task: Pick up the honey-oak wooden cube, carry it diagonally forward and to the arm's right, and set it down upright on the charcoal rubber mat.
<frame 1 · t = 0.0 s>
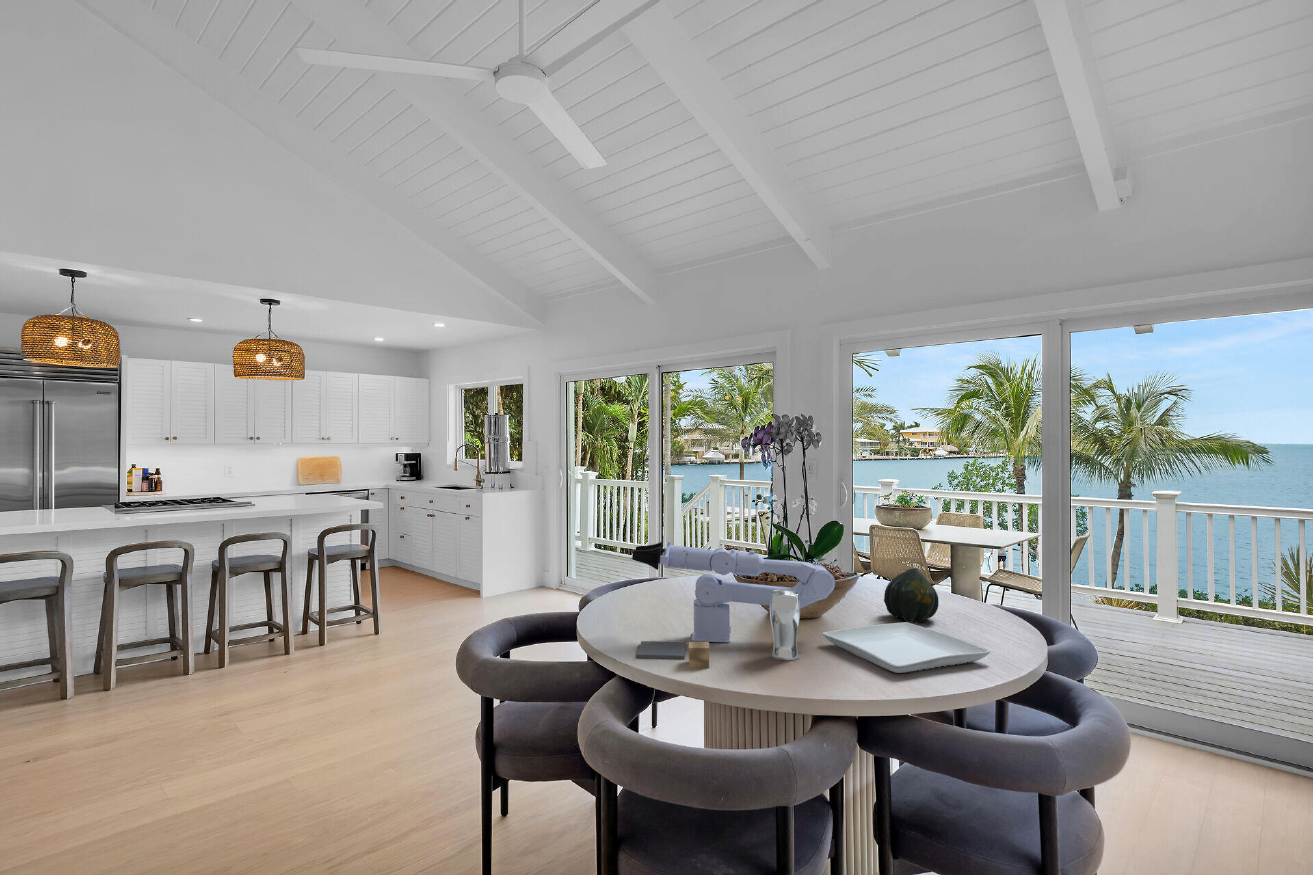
hand: (634, 552, 173), 22 cm above the table, tool horizontal, fingers open, 7 cm apart
oak cube: (699, 664, 150), on the table
beer glass: (784, 657, 155), on the table
squash: (910, 619, 190), on the table
square plate: (902, 656, 157), on the table
charcoal mat: (661, 651, 160), on the table
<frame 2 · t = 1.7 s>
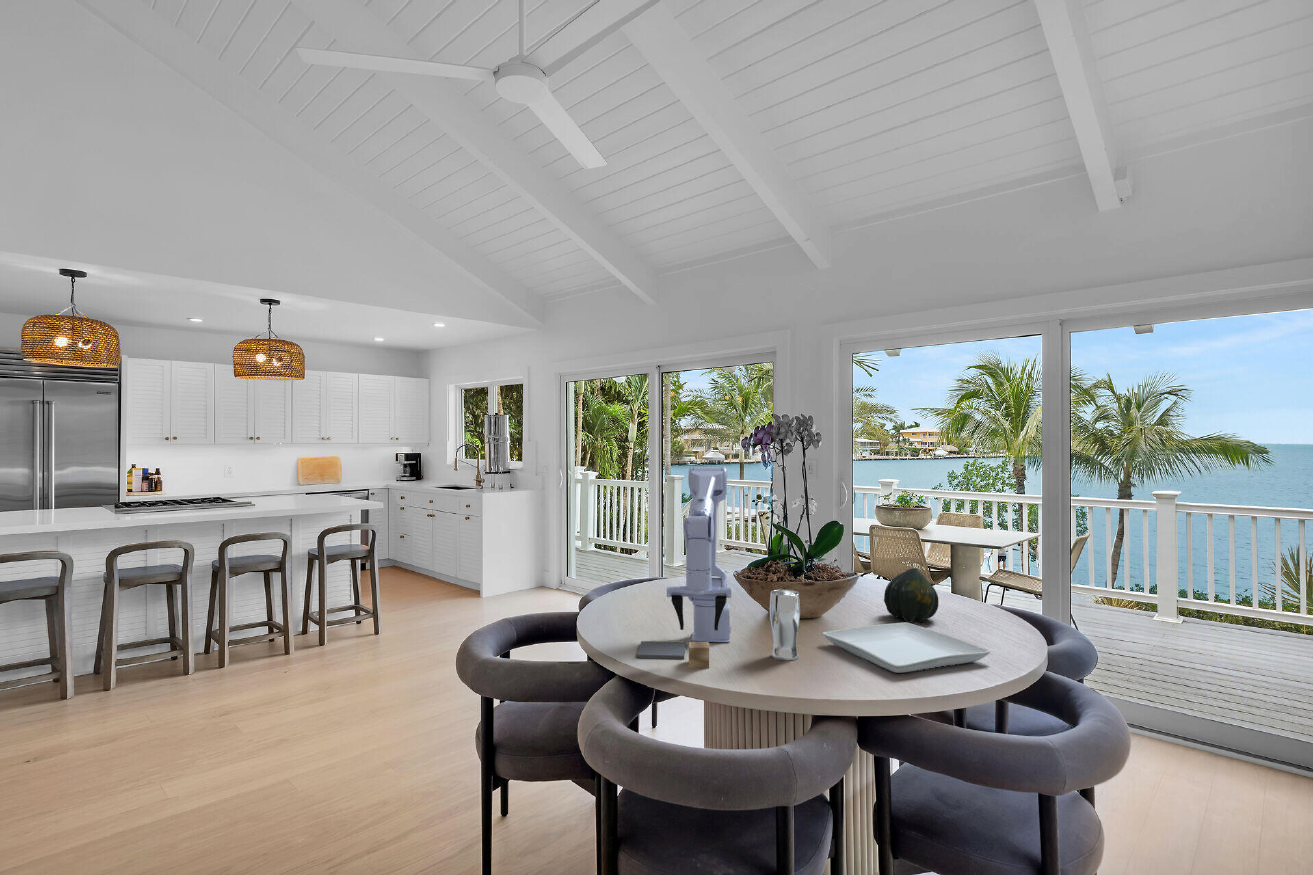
hand: (698, 628, 150), 8 cm above the table, tool pointing down, fingers open, 7 cm apart
nothing on the table moved.
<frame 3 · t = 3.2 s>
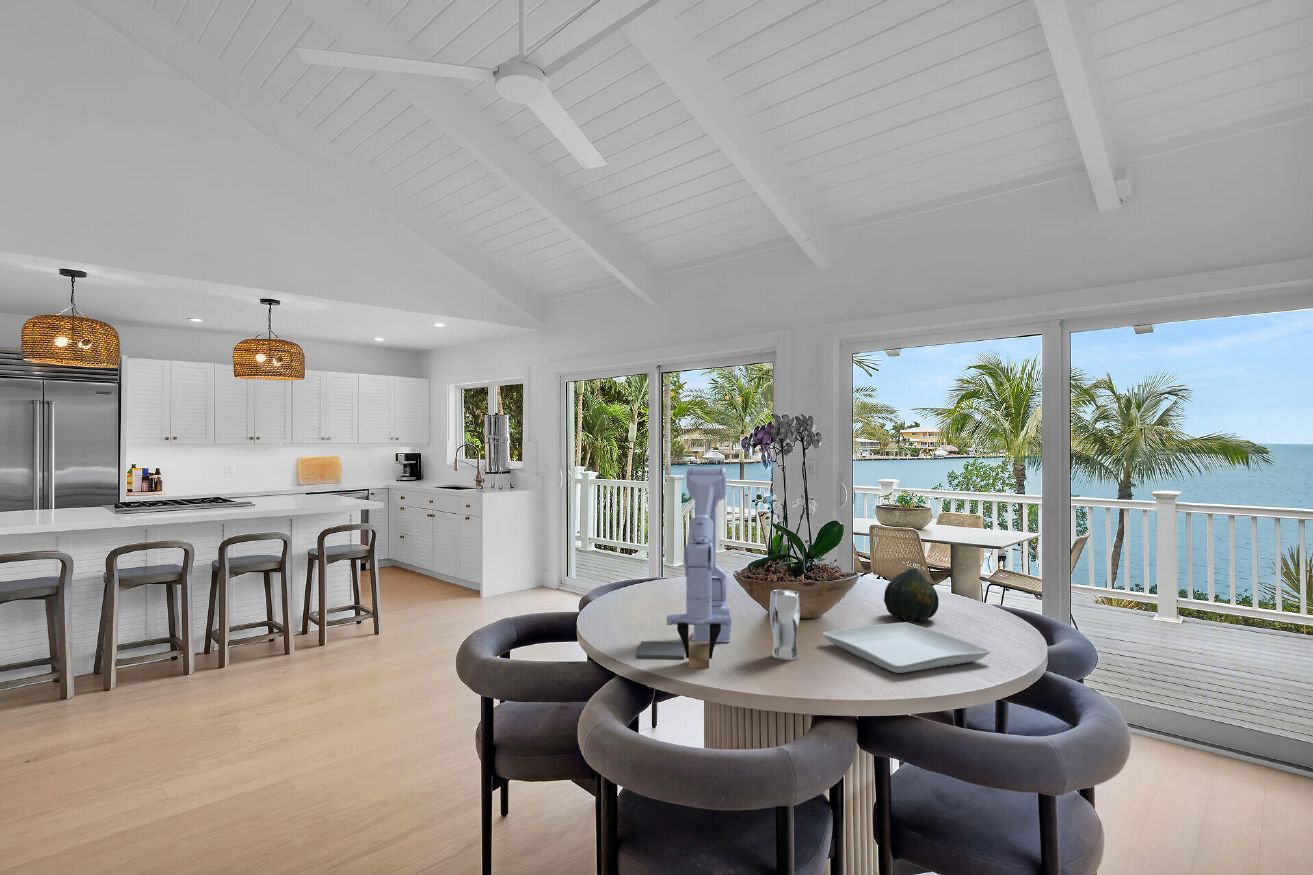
hand: (699, 657, 150), 2 cm above the table, tool pointing down, fingers closed on oak cube, 4 cm apart
oak cube: (699, 664, 150), on the table, touching gripper
everything else where it was.
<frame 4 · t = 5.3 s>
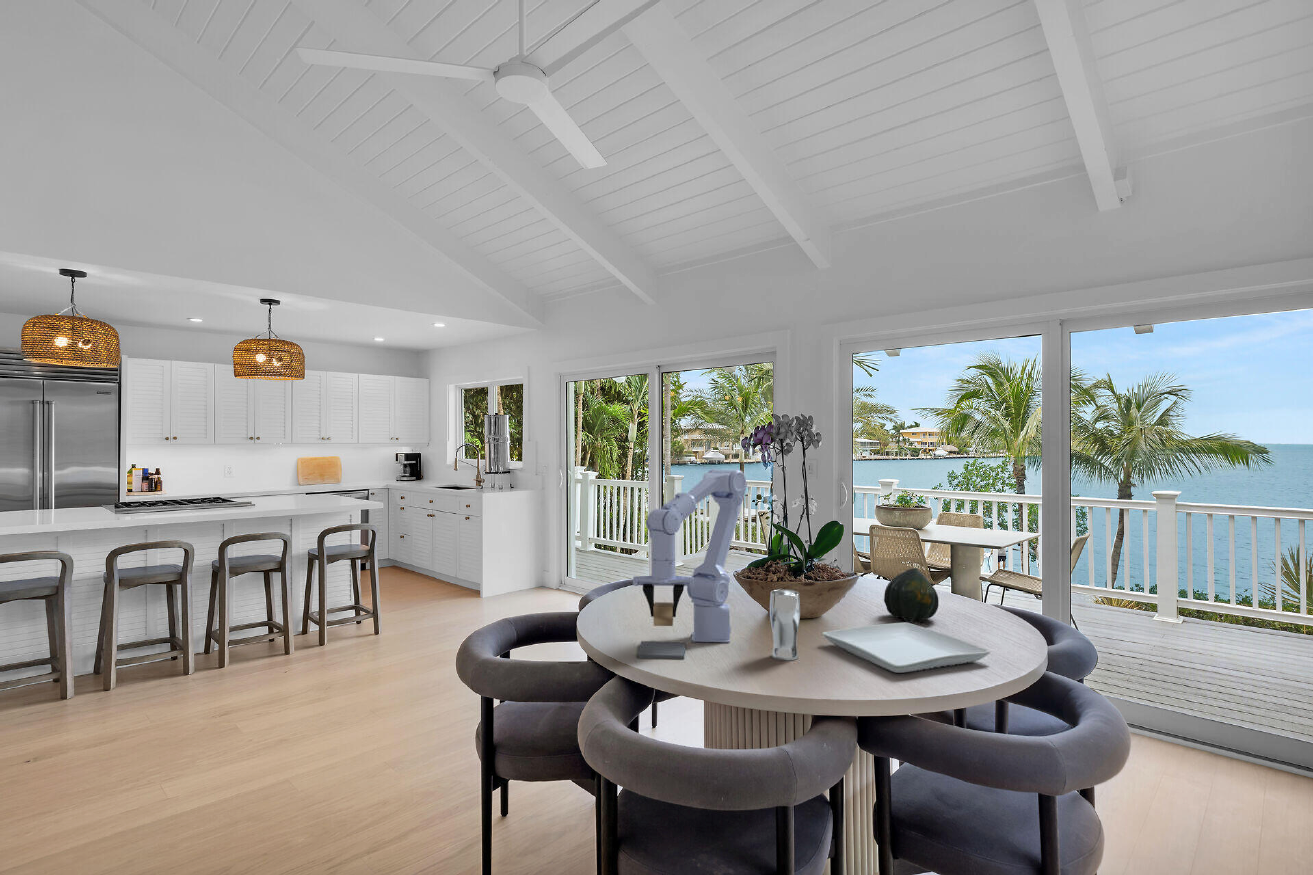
hand: (663, 615, 159), 9 cm above the table, tool pointing down, fingers closed on oak cube, 4 cm apart
oak cube: (663, 623, 159), point 7 cm above the table, touching gripper
everything else where it was.
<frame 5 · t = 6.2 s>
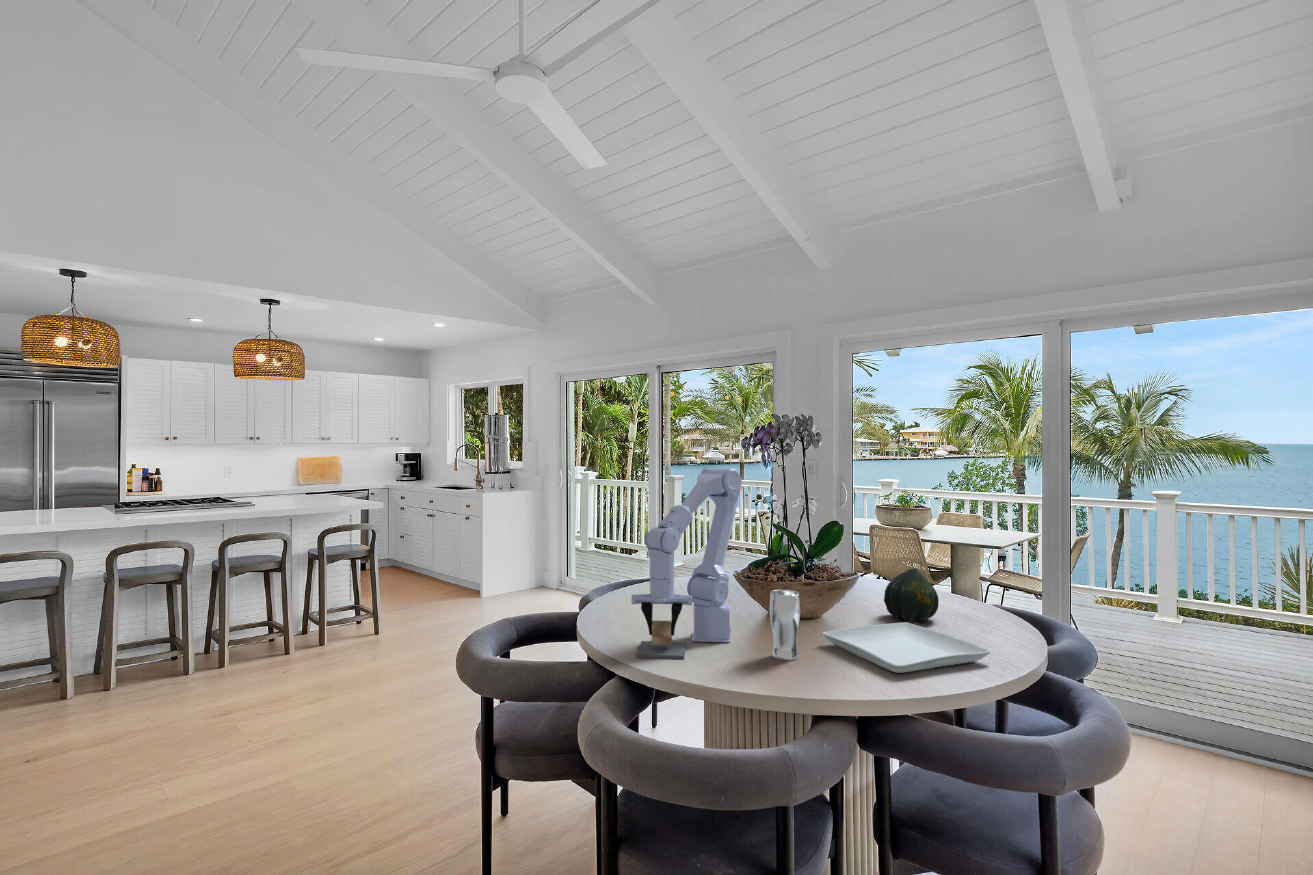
hand: (661, 634, 160), 4 cm above the table, tool pointing down, fingers closed on oak cube, 4 cm apart
oak cube: (661, 641, 159), point 2 cm above the table, touching gripper
everything else where it was.
when the fingers open (3 cm above the table, at t = 7.2 s): oak cube stays where it is, resting on charcoal mat.
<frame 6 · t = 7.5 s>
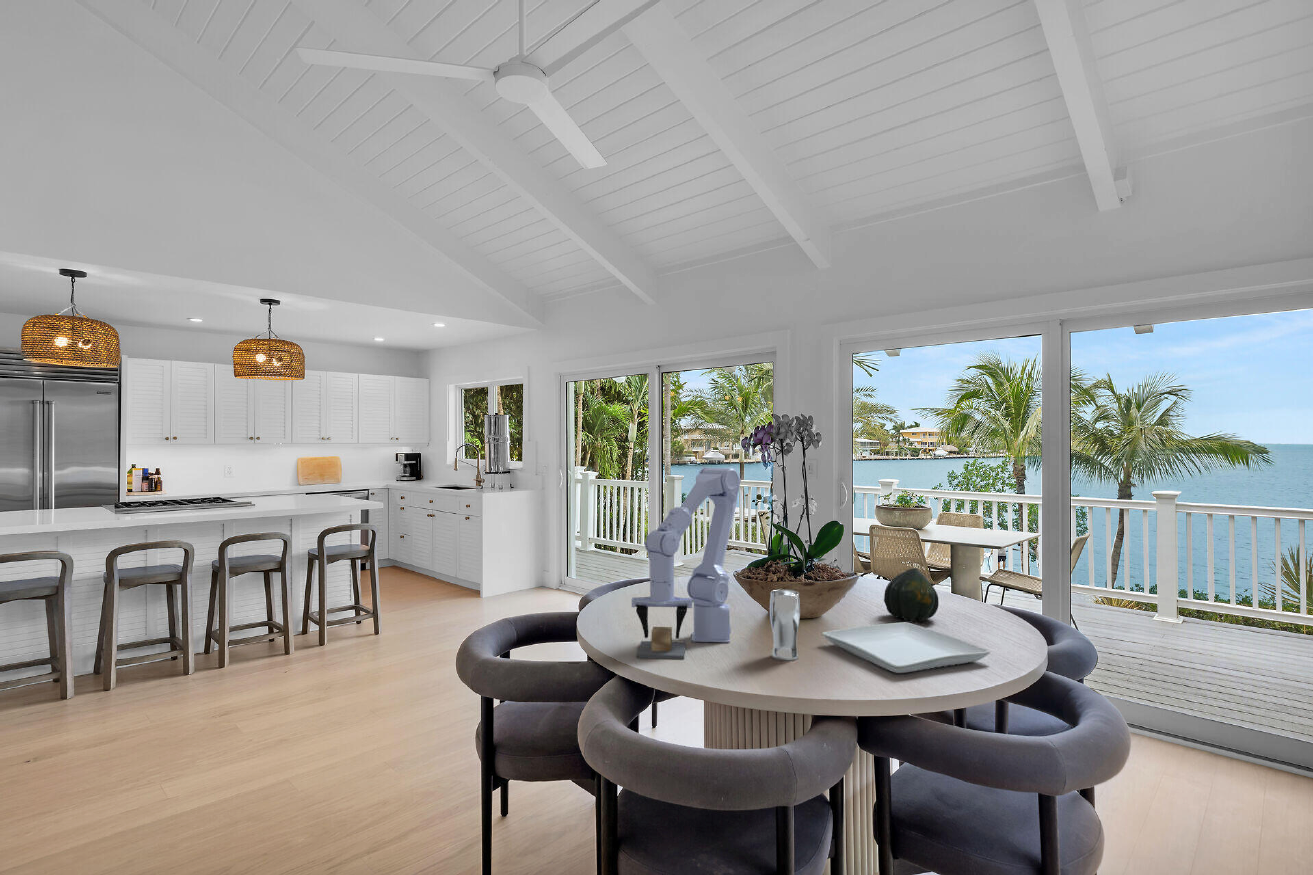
hand: (661, 637, 160), 3 cm above the table, tool pointing down, fingers open, 7 cm apart
oak cube: (661, 648, 159), point 1 cm above the table, touching charcoal mat
everything else where it was.
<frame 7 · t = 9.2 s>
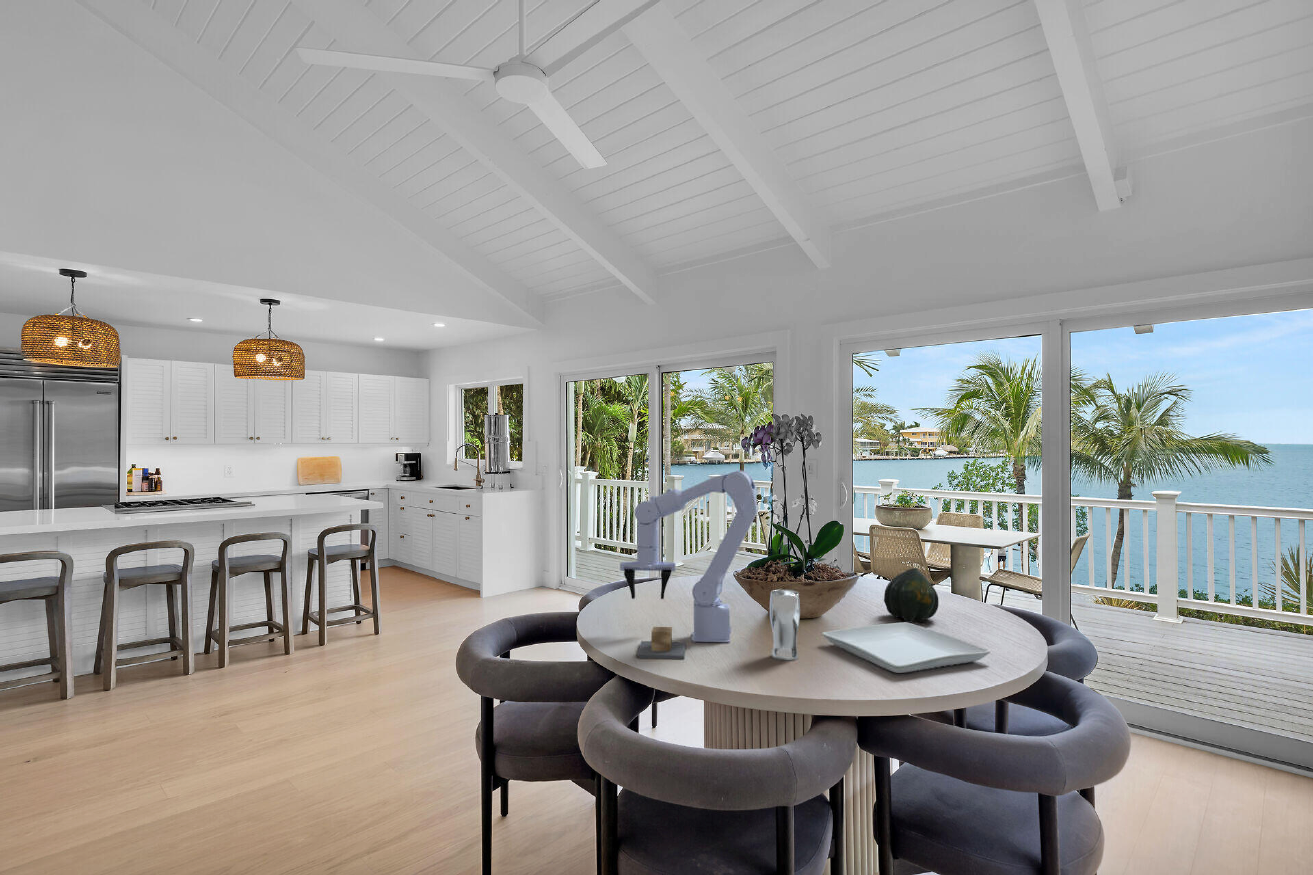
hand: (647, 598, 175), 9 cm above the table, tool pointing down, fingers open, 7 cm apart
nothing on the table moved.
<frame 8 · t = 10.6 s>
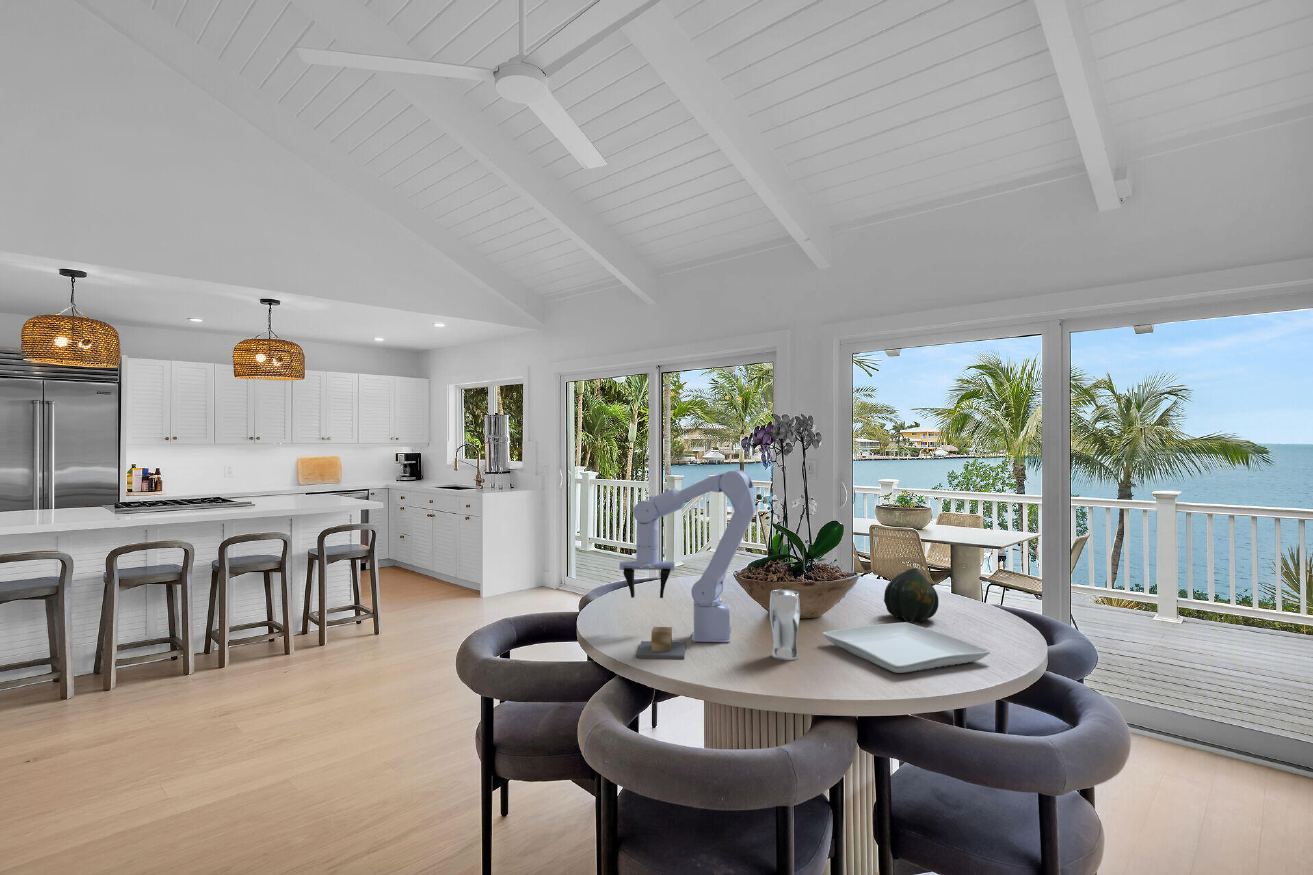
hand: (647, 597, 176), 9 cm above the table, tool pointing down, fingers open, 7 cm apart
nothing on the table moved.
at the end: oak cube inside the target area on the charcoal mat (0.2 cm from its centre), point 0.8 cm above the charcoal mat's base; oak cube tilted 0°; the gripper is holding nothing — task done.
